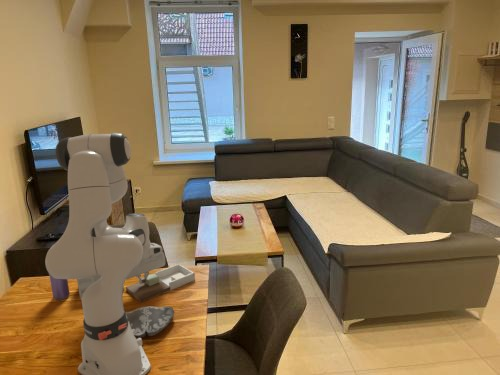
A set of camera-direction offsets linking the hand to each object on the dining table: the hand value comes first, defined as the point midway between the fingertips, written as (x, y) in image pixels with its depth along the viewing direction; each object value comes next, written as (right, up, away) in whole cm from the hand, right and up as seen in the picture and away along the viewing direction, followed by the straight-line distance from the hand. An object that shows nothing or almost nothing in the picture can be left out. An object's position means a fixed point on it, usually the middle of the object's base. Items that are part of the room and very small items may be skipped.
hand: (143, 282), depth 154 cm
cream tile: (+14, -1, +5) cm, 15 cm away
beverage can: (-32, -5, -4) cm, 32 cm away
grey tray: (+12, -1, +7) cm, 14 cm away
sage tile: (+3, -1, +2) cm, 4 cm away
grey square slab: (+2, -3, -1) cm, 4 cm away
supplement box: (-18, -3, +3) cm, 19 cm away
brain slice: (+8, -9, -25) cm, 28 cm away
